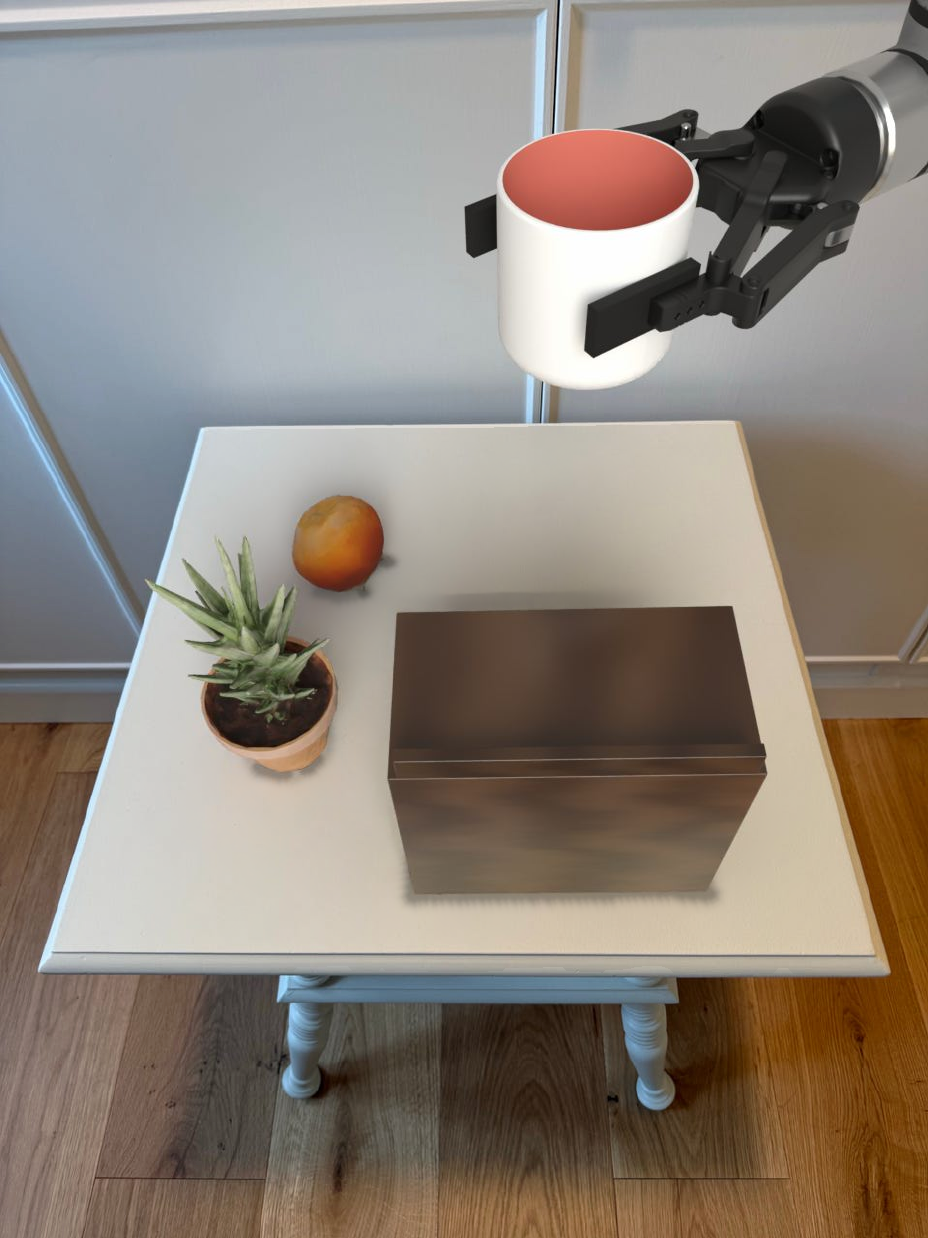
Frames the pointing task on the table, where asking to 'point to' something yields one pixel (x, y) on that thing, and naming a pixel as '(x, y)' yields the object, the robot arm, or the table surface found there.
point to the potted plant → (259, 670)
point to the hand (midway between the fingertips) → (526, 279)
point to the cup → (586, 246)
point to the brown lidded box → (570, 748)
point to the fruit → (338, 543)
